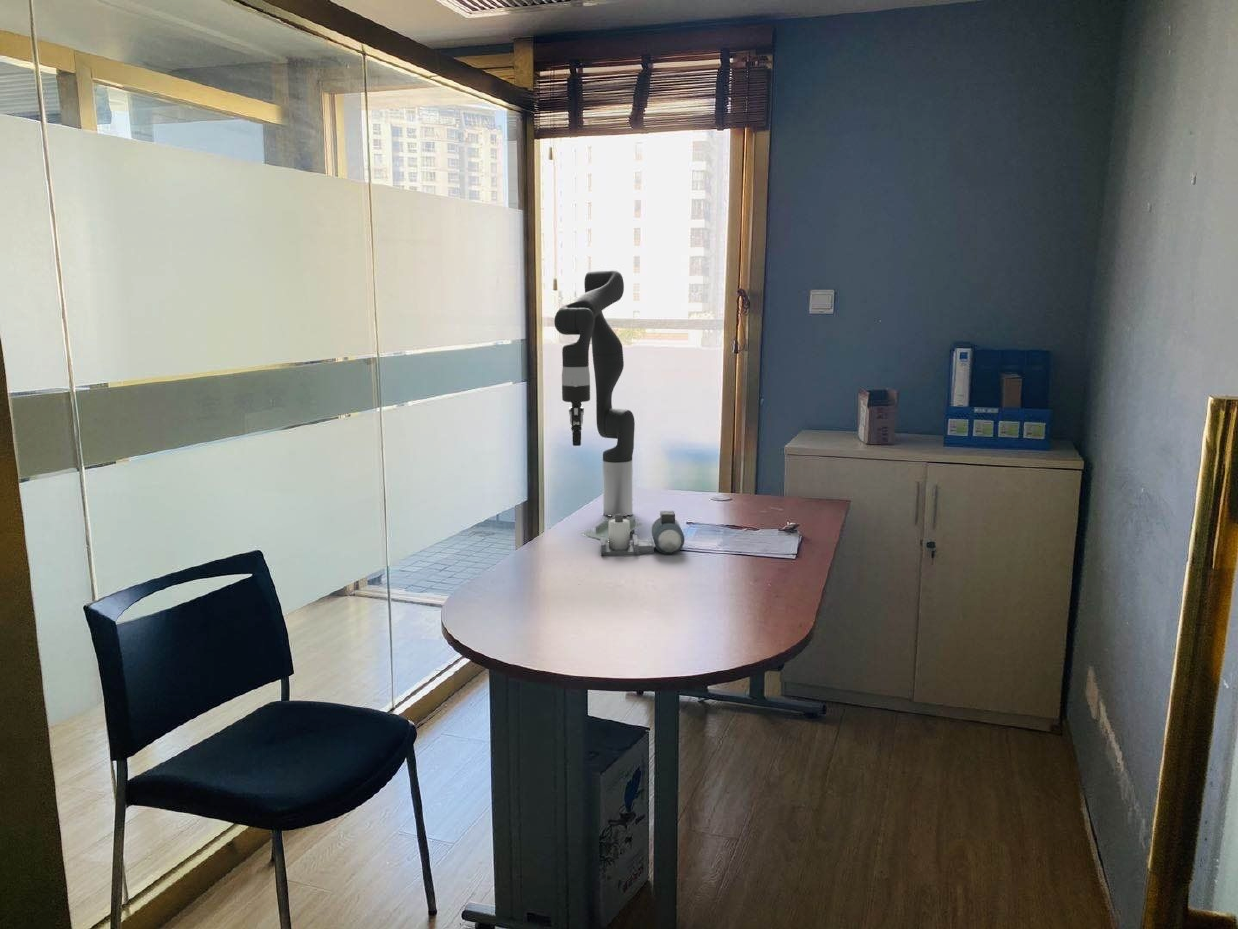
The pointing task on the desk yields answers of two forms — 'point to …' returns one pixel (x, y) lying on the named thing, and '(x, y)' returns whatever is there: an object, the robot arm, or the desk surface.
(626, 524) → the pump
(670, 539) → the motor
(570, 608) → the desk surface
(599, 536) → the metal bracket
